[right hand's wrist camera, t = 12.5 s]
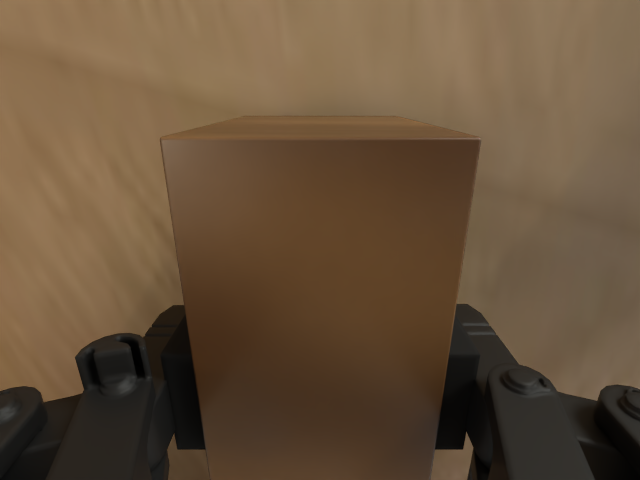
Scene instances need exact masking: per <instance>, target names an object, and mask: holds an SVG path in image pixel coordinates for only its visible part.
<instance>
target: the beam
mask: <svg viewBox="0 0 640 480" xmlns="http://www.w3.org/2000/svg"><path fill="white" fill-rule="evenodd" d="M160 144H161V151H162V157H163V164H164V171H165V178H166V184H167V191H168V198H169V205H170V212H171V218H172V225H173V232H174V239H175V245H176V252H177V259H178V266H179V272H180V279H181V286H182V293H183V300H184V306H185V313H186V320H187V327H188V333H189V340H190V347H191V354H192V360H193V367H194V374H195V381H196V388H197V394H198V401H199V408H200V415H201V421H202V428H203V435H204V442H205V448H206V455H207V462H208V469H209V476H210V480H430V478H431V471H432V465H433V458H434V451H435V445H436V438H437V431H438V425H439V418H440V411H441V405H442V398H443V391H444V384H445V378H446V371H447V364H448V358H449V351H450V344H451V338H452V331H453V324H454V318H455V311H456V304H457V298H458V291H459V284H460V277H461V271H462V264H463V257H464V251H465V244H466V237H467V231H468V224H469V217H470V211H471V204H472V197H473V191H474V184H475V177H476V170H477V164H478V157H479V150H480V144H481V138H480V137H477V136H473V135H469V134H465V133H461V132H457V131H453V130H449V129H445V128H441V127H437V126H433V125H429V124H425V123H421V122H417V121H413V120H410V119H406V118H402V117H398V116H243V117H239V118H235V119H231V120H227V121H223V122H219V123H215V124H211V125H207V126H203V127H199V128H195V129H191V130H187V131H183V132H179V133H175V134H171V135H167V136H163V137H161V138H160Z"/></svg>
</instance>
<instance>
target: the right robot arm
mask: <svg viewBox="0 0 640 480" xmlns="http://www.w3.org/2000/svg"><path fill="white" fill-rule="evenodd" d="M75 359H76V363H77V366H78V370H79V373H80V377H81V380H82V384H83V387H84V391H83V393H82V394H79V395H75V396H71V397H66V398H62V399H57V400H53V401H48V402H43V399H42V396H41V393H40V392H39V391H38V390H37V389H36V388H33V387H26V386H22V387H15V388H9V389H6V390H3V391H0V480H168V472H169V459H168V453H167V448H168V446H169V443H170V441H171V439H172V436H173V434H174V433H175V439H176V444H177V449H206V448H205V442H204V435H203V428H202V421H201V415H200V408H199V401H198V394H197V388H196V381H195V374H194V367H193V360H192V354H191V347H190V340H189V333H188V327H187V320H186V313H185V306H184V305H173V306H172V307H170V308H169V309H167V310H166V311H164V312H163V313H161V314H160V315H159V316H158V318H157V319H156V320H155V322H154V323H153V324H152V327H150V328H149V330H148V331H147V333H146V334H145V337H143V338H142V337H141V336H140V335H136V334H132V333H119V334H114V335H110V336H106V337H103V338H101V339H98V340H96V341H94V342H92V343H90V344H89V345H87V346H86V347H84V348H83V349H81V351H80V352H79V353H78V354H77V355H76V357H75ZM466 431H467V434H468V436H469V438H470V440H471V443H472V445H473V447H474V448H473V453H472V458H471V463H470V469H469V474H468V479H467V480H640V389H637V388H634V387H630V386H623V385H611V386H606V387H605V388H604V389H602V390H601V392H600V394H599V397H598V400H597V401H595V400H590V399H586V398H581V397H577V396H572V395H568V394H564V393H561V392H557V391H556V389H555V387H554V386H553V384H552V383H551V382H550V380H548V379H547V378H546V377H545V376H543V375H542V374H541V373H539V372H537V371H535V370H533V369H531V368H529V367H526V366H522V365H519V364H518V363H517V361H516V360H515V359H514V357H513V356H512V355H511V353H510V352H509V350H508V349H507V348H506V346H505V345H504V344H503V342H502V341H501V340H500V338H499V337H498V336H497V335H496V334H495V332H494V330H493V329H492V328H491V326H489V324H488V322H487V321H486V319H485V318H484V317H483V315H482V314H481V313H480V312H478V311H477V310H475V309H474V308H472V307H471V306H469V305H468V304H456V311H455V318H454V324H453V331H452V338H451V344H450V351H449V358H448V364H447V371H446V378H445V384H444V391H443V398H442V405H441V411H440V418H439V425H438V431H437V438H436V445H435V449H463V446H464V441H465V435H466Z"/></svg>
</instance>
